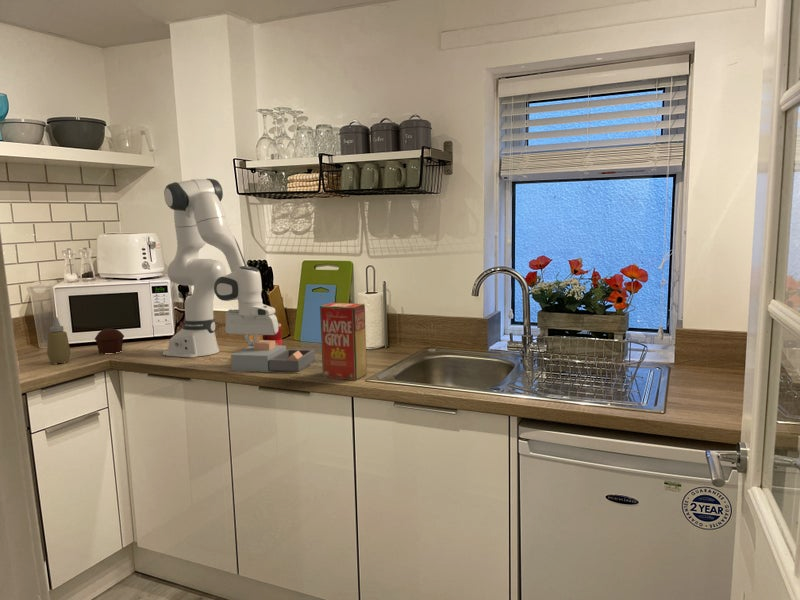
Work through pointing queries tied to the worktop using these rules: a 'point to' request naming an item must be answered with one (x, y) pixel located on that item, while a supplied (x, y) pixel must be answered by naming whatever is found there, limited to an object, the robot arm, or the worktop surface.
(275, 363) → the box
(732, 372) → the worktop surface
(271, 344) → the tile
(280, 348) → the grey rectangular box
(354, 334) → the food packaging
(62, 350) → the squeeze bottle
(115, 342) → the muffin
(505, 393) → the worktop surface
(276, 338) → the canned food
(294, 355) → the tile
